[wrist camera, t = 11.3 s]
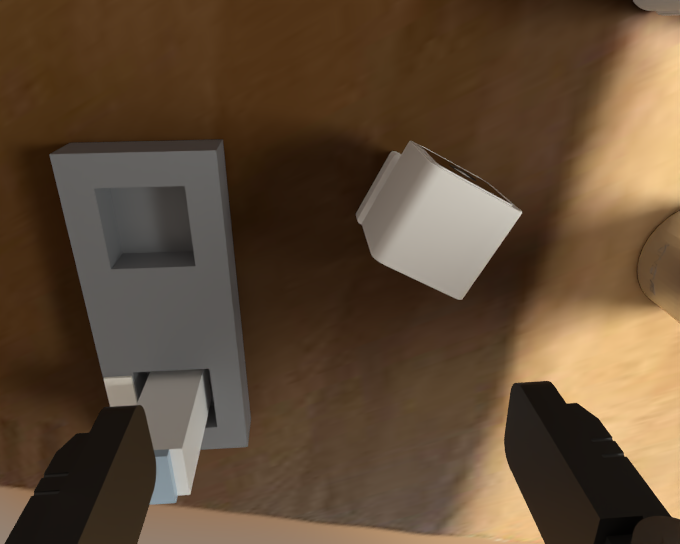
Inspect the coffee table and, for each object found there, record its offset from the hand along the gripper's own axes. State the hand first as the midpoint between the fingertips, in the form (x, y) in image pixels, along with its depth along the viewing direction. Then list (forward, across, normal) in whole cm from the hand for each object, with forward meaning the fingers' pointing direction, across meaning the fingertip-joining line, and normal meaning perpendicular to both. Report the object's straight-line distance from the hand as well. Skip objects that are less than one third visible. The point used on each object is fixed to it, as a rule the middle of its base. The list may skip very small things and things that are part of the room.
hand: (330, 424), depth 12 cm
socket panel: (+28, +11, +11) cm, 32 cm away
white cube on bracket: (+28, -7, +3) cm, 29 cm away
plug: (+27, +11, +18) cm, 34 cm away
